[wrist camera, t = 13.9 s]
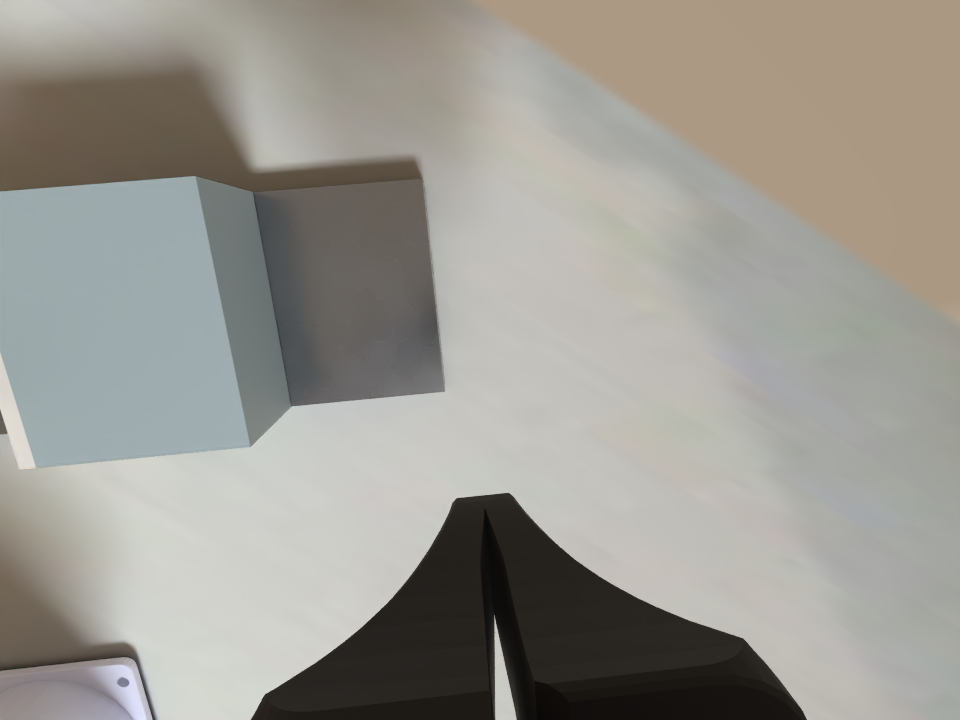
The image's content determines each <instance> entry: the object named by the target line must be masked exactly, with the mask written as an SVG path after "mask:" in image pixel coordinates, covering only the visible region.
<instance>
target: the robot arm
mask: <svg viewBox="0 0 960 720" xmlns="http://www.w3.org/2000/svg"><path fill="white" fill-rule="evenodd" d="M494 615H495V619H496V624H497V629H498V633H499V638H500V643H501V647H502V652H503V657H504V661H505V666H506V670H507V675H508V679H509V684H510V689H511V693H512V698H513V702H514V707H515V712H516V718H517V720H807V719H806V717H805V715H804V713H803V711H802V709H801V708H800V707H799V705H798V704H797V703H796V701H795V700H794V699H793V697H792V696H791V695H790V693H789V692H788V691H787V690H786V688H785V687H784V685H783V684H782V683H781V682H780V680H779V679H778V678H777V677H776V675H775V674H774V673H773V672H772V670H771V669H770V668H769V667H768V665H767V664H766V663H765V662H764V661H763V660H762V659H761V658H760V657H759V656H758V655H757V653H756V652H755V651H754V650H753V649H752V648H751V647H750V646H749V644H748V643H747V642H746V641H745V640H744V639H743V638H740V637H737V636H734V635H731V634H728V633H725V632H722V631H719V630H716V629H713V628H710V627H707V626H704V625H700V624H697V623H694V622H691V621H689V620H686V619H683V618H681V617H679V616H676V615H674V614H671V613H669V612H667V611H664V610H662V609H660V608H657V607H655V606H653V605H651V604H649V603H647V602H644V601H642V600H640V599H638V598H636V597H634V596H632V595H631V594H629V593H627V592H625V591H623V590H621V589H620V588H618V587H616V586H614V585H612V584H611V583H609V582H607V581H606V580H604V579H602V578H601V577H599V576H598V575H596V574H595V573H593V572H592V571H590V570H589V569H587V568H586V567H584V566H583V565H582V564H580V563H579V562H577V561H576V560H575V559H573V558H572V557H571V556H570V555H569V554H567V553H566V552H565V551H564V550H563V549H562V548H560V547H559V546H558V545H557V544H556V543H555V542H554V541H553V540H552V539H551V538H550V537H549V536H548V535H547V534H546V533H545V532H544V531H543V530H542V529H541V528H540V527H539V526H538V525H537V524H536V523H535V522H534V521H533V520H532V519H531V518H530V517H529V516H528V514H527V513H526V512H525V511H524V510H523V509H522V507H521V506H520V505H519V504H518V502H517V501H516V499H515V498H514V497H513V496H512V495H511V494H510V493H503V494H494V495H484V496H474V497H465V498H457V499H456V500H455V501H454V502H453V503H452V506H451V509H450V512H449V514H448V516H447V518H446V520H445V522H444V524H443V526H442V528H441V530H440V532H439V534H438V535H437V537H436V539H435V540H434V542H433V544H432V546H431V547H430V549H429V550H428V552H427V553H426V555H425V556H424V558H423V559H422V561H421V562H420V564H419V565H418V567H417V568H416V569H415V571H414V572H413V574H412V575H411V576H410V577H409V579H408V580H407V581H406V583H405V584H404V585H403V586H402V587H401V589H400V590H399V591H398V592H397V593H396V594H395V595H394V597H393V598H392V599H391V600H390V601H389V602H388V603H387V604H386V605H385V606H384V607H383V608H382V609H381V610H380V611H379V612H378V613H377V614H376V615H375V616H374V617H372V618H371V619H370V620H369V621H368V622H367V623H366V624H365V625H364V626H363V627H362V628H361V629H359V630H358V631H357V632H356V633H355V634H353V635H352V636H351V637H350V638H348V639H347V640H346V641H345V642H343V643H342V644H341V645H339V646H338V647H337V648H335V649H334V650H333V651H331V652H330V653H329V654H328V655H326V656H325V657H323V658H322V659H320V660H319V661H318V662H316V663H315V664H313V665H312V666H310V667H309V668H307V669H305V670H304V671H302V672H301V673H299V674H298V675H296V676H294V677H293V678H291V679H290V680H288V681H287V682H285V683H283V684H282V685H280V686H279V687H277V688H275V689H274V690H272V691H270V692H269V693H267V694H265V695H264V697H263V699H262V701H261V703H260V704H259V706H258V708H257V710H256V712H255V714H254V715H253V717H252V719H251V720H495V646H494ZM0 720H153V719H152V716H151V712H150V709H149V705H148V702H147V699H146V695H145V692H144V688H143V685H142V681H141V678H140V674H139V671H138V667H137V665H136V663H135V661H134V660H132V659H131V658H128V657H120V658H111V659H102V660H93V661H84V662H75V663H66V664H57V665H48V666H40V667H31V668H22V669H13V670H4V671H0Z"/></svg>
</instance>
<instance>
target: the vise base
mask: <svg viewBox="0 0 960 720" xmlns="http://www.w3.org/2000/svg"><path fill="white" fill-rule="evenodd" d="M253 196H254V201H255V207H256V213H257V218H258V224H259V229H260V235H261V241H262V246H263V252H264V257H265V263H266V268H267V274H268V280H269V285H270V291H271V296H272V302H273V308H274V313H275V319H276V324H277V330H278V335H279V341H280V347H281V352H282V358H283V363H284V369H285V375H286V380H287V386H288V391H289V397H290V402H291V406H299V405H310V404H320V403H331V402H341V401H351V400H362V399H372V398H383V397H393V396H404V395H414V394H424V393H435V392H445V382H444V373H443V363H442V354H441V344H440V334H439V325H438V315H437V305H436V296H435V286H434V277H433V267H432V257H431V248H430V238H429V228H428V219H427V209H426V200H425V190H424V181H423V179H409V180H397V181H385V182H372V183H360V184H348V185H335V186H323V187H311V188H298V189H286V190H274V191H261V192H253ZM0 434H8V432H7V429H6V426H5V423H4V420H3V417H2V413H1V410H0Z"/></svg>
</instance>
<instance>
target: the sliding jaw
mask: <svg viewBox="0 0 960 720" xmlns="http://www.w3.org/2000/svg"><path fill="white" fill-rule="evenodd" d="M290 407H291V402H290V397H289V391H288V386H287V380H286V375H285V369H284V363H283V358H282V352H281V347H280V341H279V335H278V330H277V324H276V319H275V313H274V308H273V302H272V296H271V291H270V285H269V280H268V274H267V268H266V263H265V257H264V252H263V246H262V241H261V235H260V229H259V224H258V218H257V213H256V207H255V201H254V196H253V192H251V191H247V190H244V189H240V188H237V187H233V186H230V185H226V184H222V183H219V182H215V181H212V180H208V179H204V178H201V177H197V176H189V177H177V178H164V179H151V180H139V181H126V182H114V183H101V184H89V185H76V186H64V187H51V188H38V189H26V190H13V191H1V192H0V410H1V413H2V417H3V420H4V423H5V426H6V429H7V432H8V435H9V438H10V442H11V445H12V448H13V451H14V454H15V457H16V460H17V463H18V467H19V470H22V469H32V468H42V467H53V466H63V465H73V464H83V463H93V462H103V461H113V460H124V459H134V458H144V457H154V456H164V455H174V454H184V453H194V452H205V451H215V450H225V449H235V448H245V447H251V446H252V445H253V444H254V443H255V442H256V441H257V440H258V439H259V438H260V437H261V436H262V435H263V434H264V433H265V432H266V431H267V430H268V429H269V428H270V427H271V426H272V425H273V424H274V423H275V422H276V421H277V420H278V419H279V418H280V417H281V416H282V415H283V414H284V413H285V412H286V411H287V410H288V409H289V408H290Z"/></svg>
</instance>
